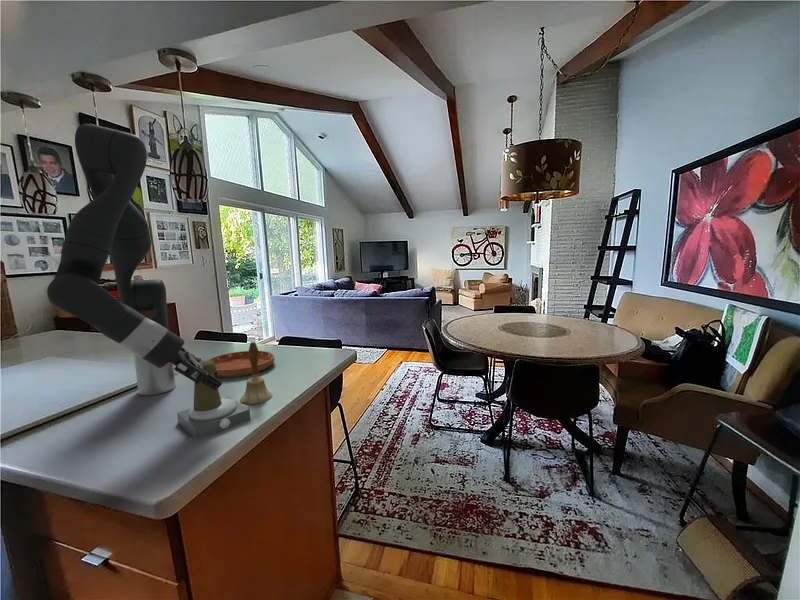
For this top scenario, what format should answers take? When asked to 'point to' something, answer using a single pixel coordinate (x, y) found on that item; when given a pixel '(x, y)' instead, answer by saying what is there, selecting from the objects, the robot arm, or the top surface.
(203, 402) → the cork
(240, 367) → the saucer
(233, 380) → the top surface
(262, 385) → the hand bell
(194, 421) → the scale
